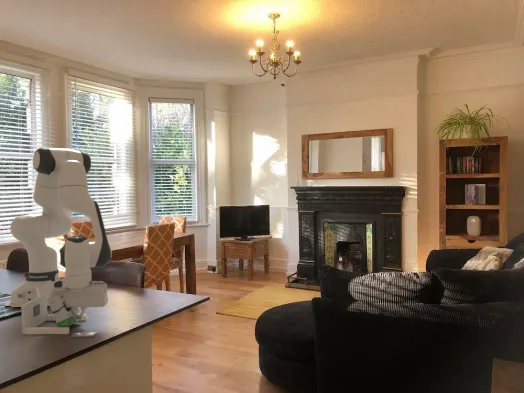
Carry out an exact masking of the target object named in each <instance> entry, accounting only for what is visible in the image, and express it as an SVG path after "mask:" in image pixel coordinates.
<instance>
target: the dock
mask: <svg viewBox="0 0 524 393" xmlns="http://www.w3.org/2000/svg"><path fill="white" fill-rule="evenodd" d="M20 310H21V332H22V335H68V334H70V326H68V327H58V326H57V327H55V326H54V327H53V326H52V327H51V326H50V327H48V326H46V327H43V326H42V327H39V326H40V325H42V324H43V323H45V322H47V321H48V322H50V321H53V322H54V321H55V322H56V320H55V318H54V315H53V314H48V306H47V294H43V295H41V296H39V297H37V298H35V299H33V300H31V301H29V302H27V303H25V304H24V305H22V306H21V308H20ZM80 321H87V314H84V318H83V319H80V320H79V321H78V322H80Z"/></svg>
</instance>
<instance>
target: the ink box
mask: <svg viewBox="0 0 524 393" xmlns="http://www.w3.org/2000/svg"><path fill="white" fill-rule="evenodd" d="M47 301H48V303H49V306H48V307H49V308H50V310H51V313H52V315H54V318H55V320H56V321H55V323H56V325H57V327H71V326H72V325H74V324H76V323H78V322H80V321H79V320H80V319H75V315H74V313H73V312H72V310H71V307H68V306H67V304H66V302H65V300H64V296H63V294H59V295H56V296H54V297H51V298H49V299H47ZM76 310H77V311H78V313H81V312H80V310H79V307H78V308H77V309H76Z"/></svg>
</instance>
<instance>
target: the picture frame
mask: <svg viewBox="0 0 524 393" xmlns="http://www.w3.org/2000/svg"><path fill="white" fill-rule="evenodd" d="M96 335H97V331H96V332H95V331H94V332H92V331H91V332H73V333H72V334H70V335H69V336H68V338H71V339H93V338H94V337H96Z"/></svg>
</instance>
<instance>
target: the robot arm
mask: <svg viewBox="0 0 524 393" xmlns="http://www.w3.org/2000/svg"><path fill="white" fill-rule="evenodd" d="M32 164H33V165H32V166H33V169H34V170H35V171H36V172H37V176H36V180H35V184H34V190H33V197H32V198H33V201H34V202H35V204H36V205H38V206H40V207H41V208H42V212H41V213H29V214H23V215H20V216H16V217H14V219H13V220H12V221H11V223H10V228H9V229H10V233H11V235H12V236H13V237H14V238H15V239H16V240H18V241H19V242H20V243H21V244H22V245H23V247H24V248H25V249H26V250H25V251H26V252H27V256H28V268H29V271H28V272H25V273H23V278H25V280H24V281H23V282H21V283H19V285H18V286H16V287H15V288H13V290H12V291H11V294H10V299H9V300H8V301H7V302H5V303H4V307H5V306H12V307H11V308H13V307H21V306H22V305H24V304H25V303H27V302H29V301H31V300H33V299H35V298H37V297H39V296H41V295H43V294H47V299H49V298H51V297H54V296H56V295H59V294H63V296H64V300H65V302H66V304H67V306H68V307H71V310H72V312H73V313H74V315H75V319H83V318H84V315H85V313H86V311H87V309H88V308H104V307H105V306H106V305H107V304H108V302H109V299H108V298H109V297H108V284H107V282H105V281H103V280H92V269H91V268H105V267H107V265H108V264H110V262H111V261H112V257H113V255H112V254H113V253H112V248H111V246H110V243H109V240H108V236H107V232H106V229H105V225H104V219H103V217H102V213H101V209H100V206H99V203H98V202H97V200H95V199H93V198H92V197H91V195H90V192H89V185H88V184H89V182H88V176H87V174H88V173H89V172H90V171H91V168H92V159H91V157H90V155H89V153H88V152H85V151H83V150H76V149H73V148H72V149H71V148H65V147H63V148H58V147H56V148H55V147H52V148H51V147H50V148H49V147H39V148H37V149H36V150H35V151H34V153H33V156H32ZM64 209H65V210H67V211H69V212H72V213H75V214H78V215H82V216H84V217H86V218H87V219H89V221H90V222H91V225H92V229H93V234H94V238H95V240H94V241H89V238H88V237H87V236H85V235H71V236H68V237H66V239H65V244H64V245H63V246H62V247H61V248H60V249H59V250H58V251H59V257H60V259H59V265H60V266H61V267H63V268H64V269H65V271H64V276H63V277H61V278H60V272H59V268H58V253H57V251H56V250H55V249H54V248H53V247H50V246H48V245H47V243H46V239H52V238H58V237H62V236H65V235H67V234H68V233H70V232H71V231H72V226H73V223H72V219H71V217H70V216H69V215H68V214H67V213H66V212H65V210H64ZM47 307H50V306H49V303H48V301H47ZM77 308H78V309H79V308H80V310H81V312H80V313H78V311H77V310H76V309H77Z"/></svg>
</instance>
